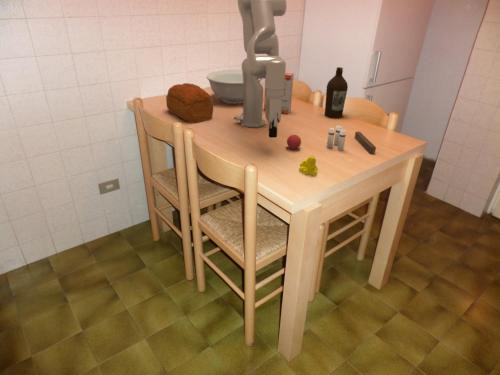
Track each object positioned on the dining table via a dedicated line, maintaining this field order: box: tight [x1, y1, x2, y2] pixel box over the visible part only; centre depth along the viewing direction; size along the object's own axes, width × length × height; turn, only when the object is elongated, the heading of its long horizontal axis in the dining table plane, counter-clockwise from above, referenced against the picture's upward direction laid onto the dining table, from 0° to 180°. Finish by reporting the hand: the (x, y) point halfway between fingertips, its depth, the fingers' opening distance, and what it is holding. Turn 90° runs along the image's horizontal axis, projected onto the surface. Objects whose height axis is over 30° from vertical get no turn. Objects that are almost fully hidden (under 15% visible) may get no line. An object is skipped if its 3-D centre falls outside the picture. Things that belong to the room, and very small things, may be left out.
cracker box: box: [263, 72, 295, 115], centre depth 192 cm, size 14×6×21 cm, turn 68°
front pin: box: [326, 127, 336, 149], centre depth 153 cm, size 2×2×8 cm
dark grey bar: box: [354, 131, 377, 155], centre depth 156 cm, size 2×18×3 cm, turn 6°
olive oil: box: [324, 66, 349, 119], centre depth 186 cm, size 11×11×25 cm
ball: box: [286, 134, 302, 150], centre depth 151 cm, size 6×6×6 cm
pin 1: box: [333, 125, 343, 147], centre depth 155 cm, size 2×2×8 cm
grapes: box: [298, 154, 319, 177], centre depth 132 cm, size 6×8×8 cm
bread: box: [165, 82, 214, 124], centre depth 186 cm, size 16×27×16 cm, turn 37°
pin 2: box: [337, 129, 347, 151], centre depth 151 cm, size 2×2×8 cm
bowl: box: [206, 69, 263, 104], centre depth 211 cm, size 32×32×15 cm
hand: (272, 136), depth 148 cm, fingers closed
